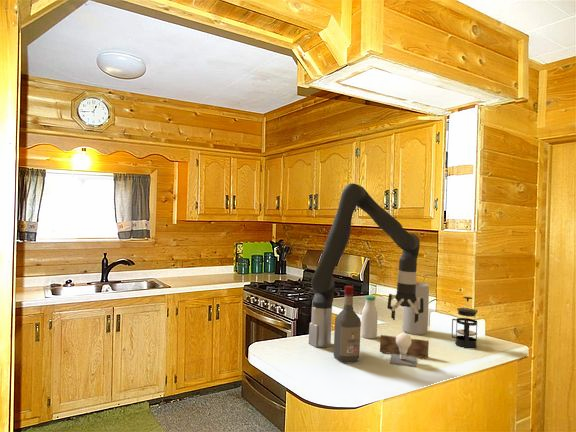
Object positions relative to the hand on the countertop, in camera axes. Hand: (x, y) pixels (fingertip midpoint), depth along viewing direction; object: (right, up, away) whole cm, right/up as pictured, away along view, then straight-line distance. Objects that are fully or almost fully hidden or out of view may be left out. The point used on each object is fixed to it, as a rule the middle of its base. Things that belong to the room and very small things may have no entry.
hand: (404, 321), depth 166 cm
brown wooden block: (+2, -17, +9) cm, 19 cm away
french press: (+36, -18, +25) cm, 47 cm away
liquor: (-24, -16, 0) cm, 29 cm away
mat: (0, -17, 0) cm, 17 cm away
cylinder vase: (+18, -18, +45) cm, 51 cm away
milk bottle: (-8, -17, +33) cm, 37 cm away
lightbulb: (-1, -16, 0) cm, 16 cm away
